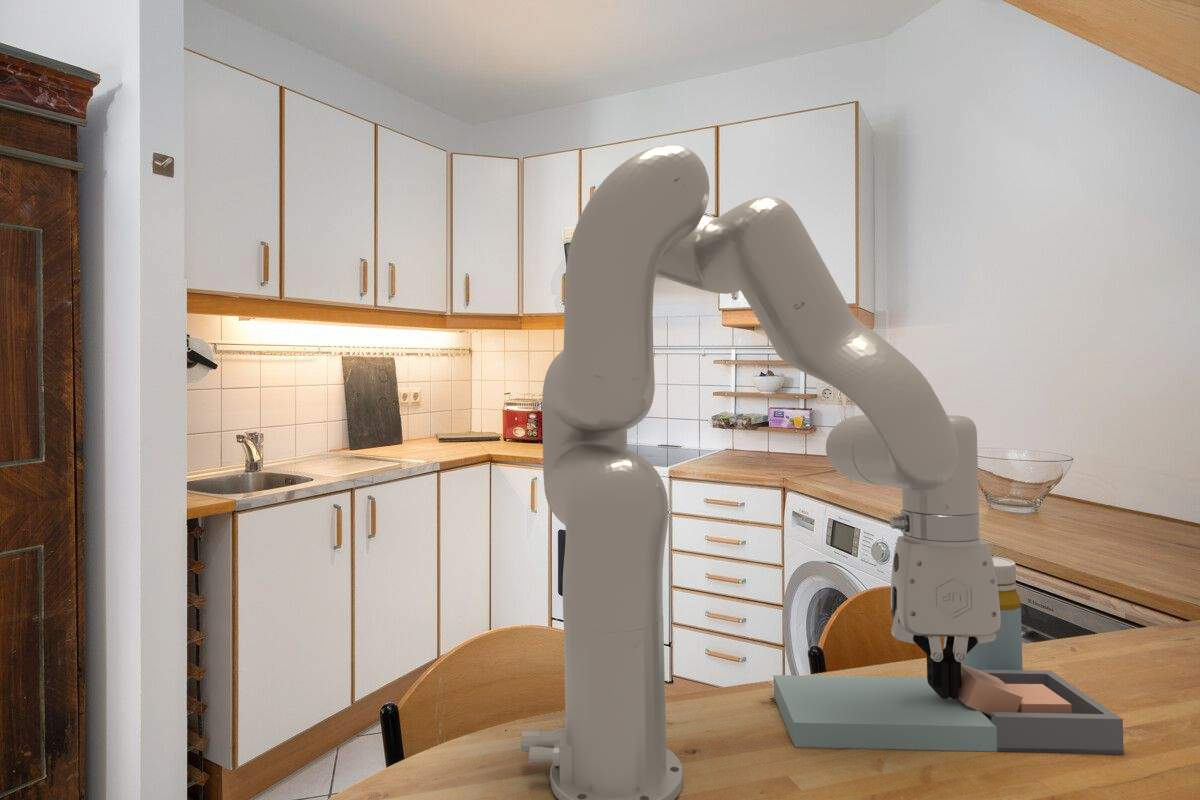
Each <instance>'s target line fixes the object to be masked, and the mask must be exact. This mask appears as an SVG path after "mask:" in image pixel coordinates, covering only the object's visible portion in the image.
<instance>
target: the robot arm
mask: <svg viewBox="0 0 1200 800" xmlns="http://www.w3.org/2000/svg"><path fill="white" fill-rule="evenodd" d="M710 189H711V187H710V179H709V173H708V171H707V168H706V166H705V164H704V162H703V161H702V159H701V158H700V157H699V155H697V153H695V152H694V151H693V150H691V149H689V148H687V147H685V146H682V145H678V144H677V145H676V144H667V145H666V144H665V145H658V146H655V147H651V148H649V149H645V150H643V151H641V152H639V153H638V154H636V155H634V156H631V157H630V158H628V159H627V160H626V161H624V162H623V163H621V164H620V165H618V166H617V167H616V168H615V169H613V171H612V172H610V173H609V175H607V176H606V178H605V179H603V181H602V182H601V183H600V184H599V186H598V187H597V189H596V190H595V191H594V192H593V194H592V196H591V197H590V199H589V200H588V202H587V204H586V205H585V207H584V209H583V210H582V212H581V214H580V217H579V219H578V221H577V224H576V226H575V228H574V231H573V234H572V236H571V239H570V245H569V247H568V248H569V249H568V254H567V260H566V268H565V278H564V279H565V280H564V281H565V283H564V308H563V309H564V310H563V311H564V312H563V350H561V351H560V352H559V353H558V354H557V355H556V356H555V357H554V359H553V360H552V361H551V362H550V365H549V366H548V369H547V371H546V373H545V376H544V380H543V381H544V382H543V386H542V387H543V388H542V396H541V397H542V400H541V404H542V406H541V409H542V410H541V418H542V422H541V423H542V424H541V425H542V426H541V427H542V471H543V474H542V475H543V476H542V477H543V487H544V488H543V489H544V494H545V499H546V502H547V505H548V507H549V508H550V511H551V512H552V513H553V515H554V516H555V517H556V518H557V520H558V521H559V522H560V523H562V524H563V525H564V526H565V544H564V545H565V548H564V558H563V570H562V619H563V655H564V656H563V657H564V659H563V660H564V703H565V705H564V706H565V710H564V711H565V723H564V726H563V727H555V728H554V731H544V730H543V731H542V730H541V729H523V730H522V733H521V742H520V750H521V752H522V753H528V763H529V764H544V763H545V764H546V763H547V764H548V763H549V764H551V767H550V773H549V775H550V777H549V780H550V781H549V782H550V788H551V791H552V793H553V795H554V796H555V797H556V798H557V799H558V800H676V798H677V797H678V796H679V795H680V793H681V792H682V788H683V785H684V768H683V764H682V763H681V761H680V759H679V758H678V756H677V755H676V754H675V753H674V752H673V751H672V750H671V749H669V748H667V726H666V725H667V724H666V723H667V722H666V682H665V681H666V678H665V675H666V674H665V673H666V672H665V638H664V637H665V631H664V630H665V629H664V628H665V627H664V623H665V622H664V608H663V607H664V606H663V605H664V602H663V601H664V600H663V599H664V597H663V590H664V589H663V585H664V584H663V581H664V579H663V578H664V577H663V576H664V571H663V570H664V559H665V558H664V555H665V547H666V540H667V533H668V532H667V531H668V524H669V500H668V492H667V489H666V485H665V484H664V481H663V480H662V477H661V476H660V474H659V472H658V470H657V469H656V468H655V467H654V466H653V464H652V463H651V462H649V461H648V459H646V458H644V457H643V456H642V455H640V454H639V453H637V452H634V451H632V450H629V449H628V430H630V429H631V428H634V427H635V426H637V425H638V424H639V423H641V422H642V421H643V420H644V419H645V418H646V417H647V415H648V414H649V412H650V409H651V408H652V406H653V403H654V397H655V389H656V384H655V383H656V382H655V360H654V358H655V357H654V351H655V350H654V316H653V314H654V313H653V311H654V310H653V309H654V290H655V282H656V276H657V277H660V278H664V279H666V280H669V281H671V282H675V283H679V284H681V285H685V286H688V287H691V288H695V289H698V290H701V291H706V292H709V293H716V294H725V295H726V294H727V295H728V294H734V293H738V292H741V294H742V295H743V297H744V299H745V300H746V302H747V303H748V306H750V307H749V308H751V310H752V312H753V314H754V315H755V317H756V319H757V321H758V322H759V324H760V326H761V328H762V330H763V331H764V333H765V335H766V336H767V338H768V341H770V343H771V345H772V347H773V349H774V351H775V352H776V354H777V355H778V357H779V358H780V359H781V360H783V362H785V363H787V364H788V365H790V366H792V367H793V368H795V369H797V370H799V371H800V372H802V373H804V374H807V375H809V376H812V377H813V378H816V379H818V380H820V381H822V382H824V383H826V384H828V385H829V386H831V387H833V388H835V389H836V390H838V391H839V392H841V394H843V395H844V396H846V397H847V398H848V399H849V400H850V401H851V402H853V404H854V405H856V406H857V407H858V408H859V410H860V411H861V412H862V413H863V414H861V415H860V414H859V415H854V416H851V417H848V418H845V419H843V420H841V421H840V422H838V423H837V424H836V425H834V427H833V428H832V430H830V432H829V434H828V436H827V438H826V442H825V454H826V458H827V460H828V462H829V464H830V466H831V467H832V468H833V469H834V470H835V471H836V472H837V473H838V474H840V475H842V476H843V477H845V478H847V479H849V480H852V481H854V482H857V483H864V484H869V485H876V486H878V485H879V486H883V487H884V486H886V487H890V488H891V487H892V488H897V489H901V497H902V499H901V500H902V501H901V502H902V509H900V514H899V515H896V516H890V517H889V524H890V525H889V526H890V528H891V529H893V530H894V529H895V530H897V529H898V531H900V532H901V533H902V535H899V536H898V537H897V539H896V543H895V548H894V554H893V561H892V569H891V580H890V581H891V582H890V613H891V617H892V619H893V622H892V625H891V628H890V629H891V630H890V633H891V635H892V636H893V637H894V638H895V639H896V640H897V641H900V642H904V643H909V644H914V645H917V646H918V648H920V649H921V650H922V651H923V652H924V653H925V654H926V677H927V680H928V684H929V685H930V686H931V687H932V689H933V690H934V691H935V692H936V693H937V694H938V695H939V696H940V697H941V698H942V699H948V697H951V698H952V699H958V688H961V662H963V661H964V660H965V659H966V654H967V653H968V652H969V651H970V650H971V649H972V648H973V647H974V646H975V645H976V644H982V643H986V642H991V641H994V640H995V639H996V633H997V632H998V631H999V629H1000V622H1001V619H1000V604H999V594H998V586H997V579H996V573H995V568H994V563H993V559H992V556H993V555H992V551H991V548H990V547H991V546H990V543H989V542H988V541H987V540H984V539H981V537H980V536H981V534H980V513H979V512H980V502H979V501H980V500H979V495H980V494H979V465H978V464H979V461H978V459H979V457H978V456H979V455H978V429H977V425H976V424H975V422H974V421H973V420H972V419H971V418H970V417H968V416H965V415H958V414H957V415H954V414H951V415H950V414H947V412H946V411H945V408H944V407H943V405H942V403H941V401H940V400H939V398H938V396H937V394H936V392H935V390H934V389H933V387H932V386H931V384H930V383H929V381H928V379H927V378H926V377H925V376H924V374H923V373H922V372H921V371H920V370H919V369H918V368H917V366H915V364H914V363H913V362H912V361H911V360H910V359H908V358H907V357H906V356H905V355H904V354H902V353H901V352H900V351H899V350H897V349H896V348H895V347H894V346H893V345H891V344H890V342H888V341H886V340H885V339H884V338H883V337H882V336H881V335H879V334H878V333H876V331H874V330H872V329H871V328H869V327H868V326H866V325H865V324H864V323H862V321H860V320H859V319H858V318H857V317H856V316H855V314H854V313H853V312H852V310H851V309H850V307H849V305H848V303H847V301H846V299H845V298H844V296H843V294H842V292H841V290H840V287H839V286H838V285H837V283H836V281H835V279H834V278H833V276H832V274H831V272H830V271H829V269H828V266H827V265H826V263H825V261H824V260H823V258H822V256H821V254H820V253H819V250H818V249H817V247H816V245H815V243H814V242H813V240H812V237H811V236H810V235H809V233H808V230H807V228H806V227H805V225H804V223H803V222H802V220H801V218H800V217H799V215H798V213H797V212H796V211H795V210H794V208H793V207H792V206H791V205H790V204H789V203H787V202H786V201H785V200H783V199H781V198H778V197H773V196H761V197H756V198H753V199H749V200H747V201H745V202H744V201H743V202H742V203H740V204H739V205H737V206H735V207H733V208H731V209H730V210H728V211H726V212H725V213H723V214H722V215H719V216H718V217H716V216H711V215H708V214H705V212H706V211H707V207H708V204H709V199H710ZM941 637H944V640H943V647H942V643H941V641H942V640H941Z"/></svg>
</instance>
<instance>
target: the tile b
mask: <svg viewBox="0 0 1200 800" xmlns="http://www.w3.org/2000/svg"><path fill="white" fill-rule="evenodd" d="M1006 685H1008V686H1009V687H1010V688H1011V689H1013V690H1014V691H1015V692H1017V693H1018V694H1019V695H1020V696H1022V697H1023V698H1022V701H1021V703H1020V706H1019V709H1018V711H1017V713H1067V714H1072V708H1071V704H1070V703H1069V702H1067V701H1066V700H1065V699H1063V698H1062V697H1060V696H1059V695H1057V694H1056V693H1055V692H1053V691H1052V690H1050V689H1049V688H1047V687H1046V686H1045V685H1043V684H1006Z"/></svg>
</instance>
